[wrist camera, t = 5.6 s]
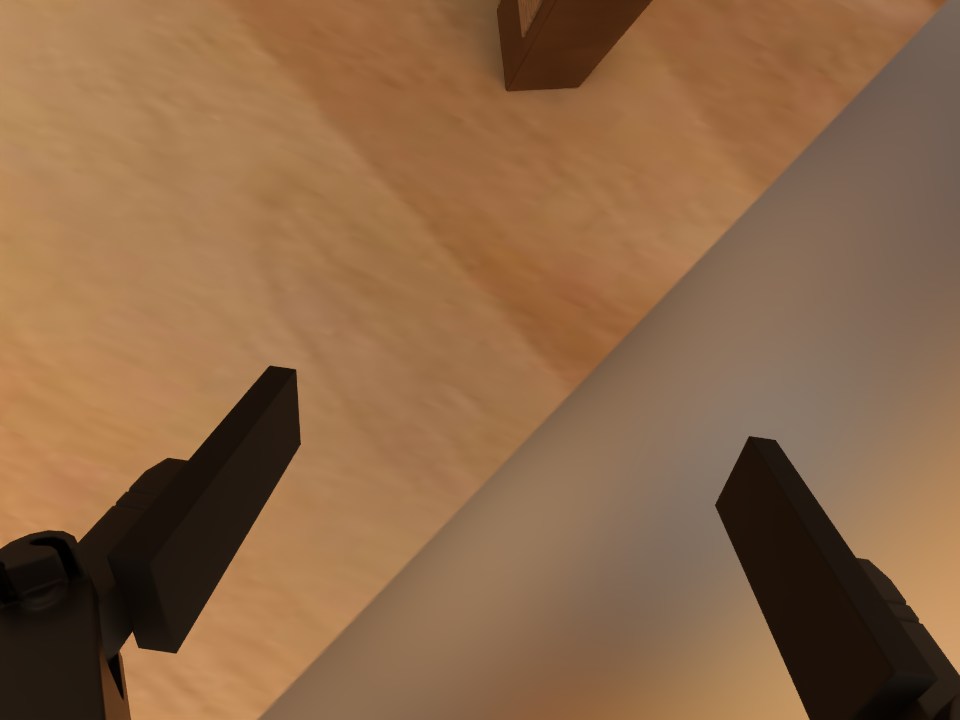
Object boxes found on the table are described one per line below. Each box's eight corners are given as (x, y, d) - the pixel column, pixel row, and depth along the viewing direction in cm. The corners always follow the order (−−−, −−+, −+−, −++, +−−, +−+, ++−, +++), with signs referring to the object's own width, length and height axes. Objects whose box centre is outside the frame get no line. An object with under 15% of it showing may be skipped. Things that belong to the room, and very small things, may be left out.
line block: (503, 91, 33) (556, -6, 23) (494, 9, 32) (543, -125, 23) (578, 87, 34) (659, -7, 24) (570, 8, 33) (649, -122, 24)
